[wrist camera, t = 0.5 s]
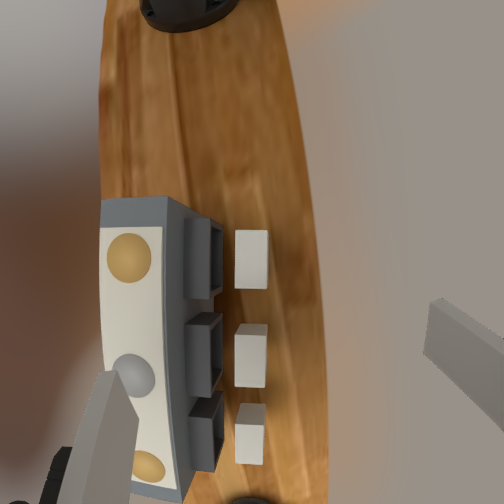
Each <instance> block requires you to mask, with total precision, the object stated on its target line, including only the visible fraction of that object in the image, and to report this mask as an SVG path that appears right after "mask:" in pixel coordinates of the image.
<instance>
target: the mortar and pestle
mask: <svg viewBox="0 0 504 504" xmlns="http://www.w3.org/2000/svg"><path fill="white" fill-rule="evenodd" d="M232 504H268V503H266V502H265V501H264V500H262V499H257V498H252V497H246V498H241V499H237V500H235V501H234V502H233V503H232Z"/></svg>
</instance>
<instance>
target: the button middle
mask: <svg viewBox="0 0 504 504" xmlns="http://www.w3.org/2000/svg"><path fill="white" fill-rule="evenodd" d="M267 331H268V324H243V323H241V324H240V326H239V328H238V330H237V331H236V333H235V387H254V388H265V381H266V371H267Z"/></svg>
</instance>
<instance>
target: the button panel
mask: <svg viewBox="0 0 504 504" xmlns="http://www.w3.org/2000/svg"><path fill="white" fill-rule="evenodd" d="M99 249H100V250H99V289H100V316H101V333H102V347H103V358H104V368H105V371H110V370H117V371H118V374H119V376H120V378H121V381H122V383H123V385H124V388H125V390H126V392H127V394H128V396H129V399H130V401H131V403H132V405H133V407H134V409H135V411H136V413H137V415H138V417H139V419H140V420H139V426H138V433H137V440H136V447H135V454H134V462H133V470H132V478H131V487H130V493H134V494H138V495H142V496H146V497H151V498H155V499H160V500H165V501H170V502H175V503H181V504H183V501H184V499H185V496H186V494H187V492H188V489H189V487H190V484H191V482H192V479H193V477H194V475H195V472H196V471H204V472H213V473H214V472H215V469H216V466H217V463H218V459H219V456H220V453H221V450H222V447H223V443H224V404H223V391H215V388H216V386H217V384H218V382H219V380H220V378H221V376H222V374H223V313H218V312H214V296H216V295H217V294H219V293H221V292H222V291H223V226H222V225H221V224H219V223H217V222H216V221H214V220H212V219H210V218H206V217H204V216H203V215H201V214H199V213H197V212H195V211H194V210H192V209H190V208H188V207H187V206H185V205H183V204H181V203H179V202H178V201H176V200H174V199H172V198H170V197H169V196H154V197H134V198H116V199H102V201H101V218H100V247H99Z"/></svg>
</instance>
